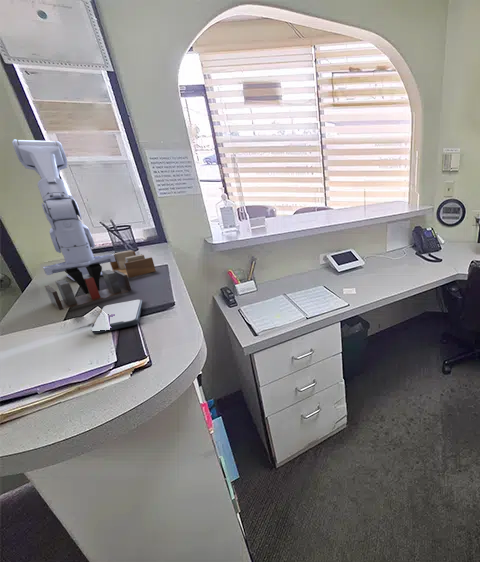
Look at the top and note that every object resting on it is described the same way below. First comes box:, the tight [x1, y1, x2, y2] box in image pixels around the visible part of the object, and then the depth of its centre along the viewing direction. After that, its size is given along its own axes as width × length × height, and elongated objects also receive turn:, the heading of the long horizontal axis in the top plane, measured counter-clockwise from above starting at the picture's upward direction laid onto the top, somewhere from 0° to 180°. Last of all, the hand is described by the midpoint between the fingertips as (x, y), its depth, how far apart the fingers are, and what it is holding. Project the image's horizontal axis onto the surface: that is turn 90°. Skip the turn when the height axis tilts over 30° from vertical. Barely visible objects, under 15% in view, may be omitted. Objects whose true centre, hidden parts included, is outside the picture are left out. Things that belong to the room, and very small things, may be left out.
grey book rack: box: [44, 269, 133, 311], centre depth 88 cm, size 16×8×7 cm, turn 145°
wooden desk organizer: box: [109, 249, 157, 279], centre depth 110 cm, size 16×8×7 cm, turn 55°
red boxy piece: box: [83, 274, 100, 299], centre depth 87 cm, size 2×5×6 cm, turn 55°
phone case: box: [91, 298, 143, 334], centre depth 78 cm, size 9×2×16 cm
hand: (91, 291), depth 88 cm, fingers closed on red boxy piece, 2 cm apart
